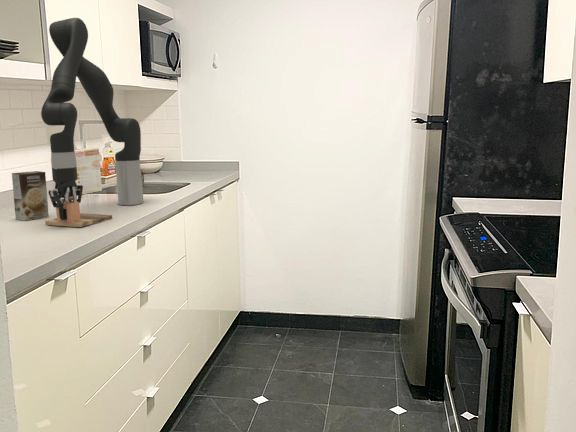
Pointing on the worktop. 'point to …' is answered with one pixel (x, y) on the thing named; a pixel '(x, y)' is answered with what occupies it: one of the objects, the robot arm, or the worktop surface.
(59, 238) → the worktop surface
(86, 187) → the coffeecake box
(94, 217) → the brown notebook
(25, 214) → the coffee box
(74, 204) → the stub
